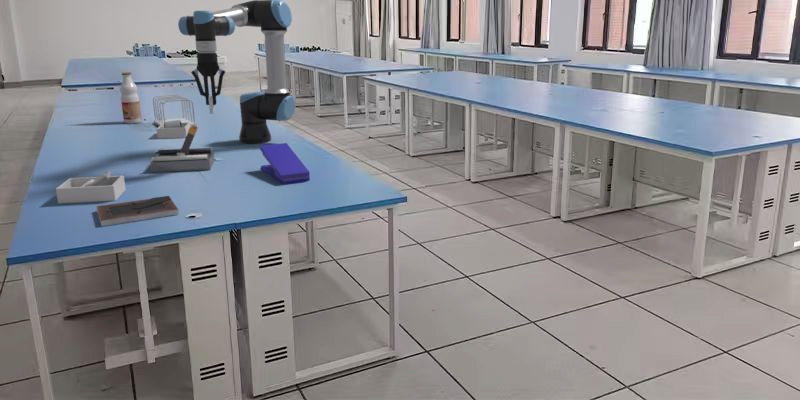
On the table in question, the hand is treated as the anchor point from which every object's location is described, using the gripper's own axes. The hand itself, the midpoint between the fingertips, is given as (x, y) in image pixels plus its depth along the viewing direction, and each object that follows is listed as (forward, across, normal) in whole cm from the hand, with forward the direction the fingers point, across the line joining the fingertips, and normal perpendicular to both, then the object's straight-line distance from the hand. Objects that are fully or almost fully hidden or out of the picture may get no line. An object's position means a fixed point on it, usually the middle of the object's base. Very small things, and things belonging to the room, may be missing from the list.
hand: (212, 113), depth 242 cm
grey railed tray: (+17, -13, 0) cm, 22 cm away
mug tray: (+21, -28, +70) cm, 78 cm away
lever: (+16, -13, 0) cm, 21 cm away
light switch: (+22, -37, -38) cm, 58 cm away
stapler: (+22, +27, -20) cm, 40 cm away
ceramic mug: (+21, -28, +69) cm, 77 cm away
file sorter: (+21, -33, +101) cm, 109 cm away
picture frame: (+23, -18, -60) cm, 66 cm away
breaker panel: (+21, -13, 0) cm, 25 cm away
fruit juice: (+21, -58, +115) cm, 131 cm away
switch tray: (+22, -37, -38) cm, 57 cm away
